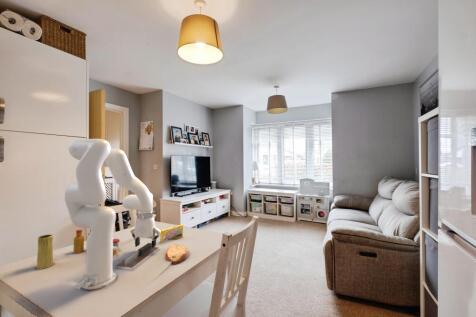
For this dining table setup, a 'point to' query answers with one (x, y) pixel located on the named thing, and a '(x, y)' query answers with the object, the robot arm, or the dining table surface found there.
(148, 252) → the board
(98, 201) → the robot arm
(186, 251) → the slice of bread
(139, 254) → the knife
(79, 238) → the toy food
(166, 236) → the candy box
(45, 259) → the vase
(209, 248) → the dining table surface
